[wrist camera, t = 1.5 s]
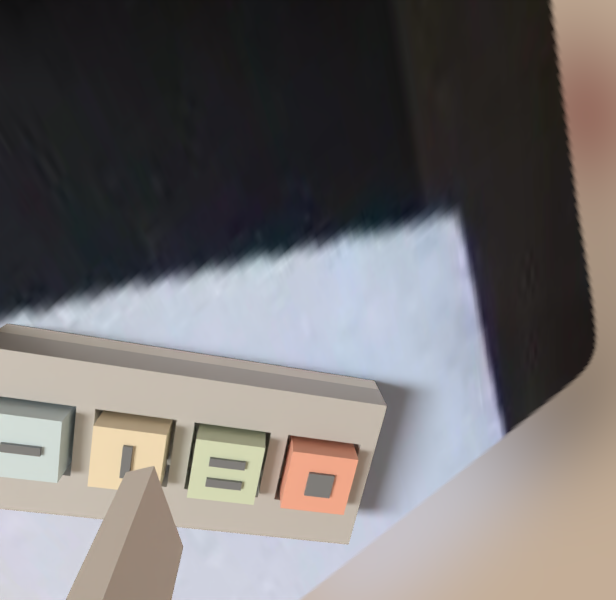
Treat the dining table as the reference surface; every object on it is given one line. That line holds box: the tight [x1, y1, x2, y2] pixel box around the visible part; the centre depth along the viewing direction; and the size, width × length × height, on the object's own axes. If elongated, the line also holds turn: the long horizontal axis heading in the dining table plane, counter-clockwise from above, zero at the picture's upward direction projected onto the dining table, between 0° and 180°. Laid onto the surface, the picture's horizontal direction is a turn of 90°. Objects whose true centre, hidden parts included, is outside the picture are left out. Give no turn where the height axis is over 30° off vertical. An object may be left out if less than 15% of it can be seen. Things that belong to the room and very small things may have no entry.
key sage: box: [187, 423, 265, 505], centre depth 32 cm, size 5×5×3 cm
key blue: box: [0, 396, 76, 483], centre depth 30 cm, size 5×5×3 cm
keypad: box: [0, 324, 387, 544], centre depth 34 cm, size 27×12×4 cm, turn 78°
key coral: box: [280, 435, 358, 515], centre depth 33 cm, size 5×5×3 cm
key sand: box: [87, 410, 173, 490], centre depth 31 cm, size 5×5×3 cm
